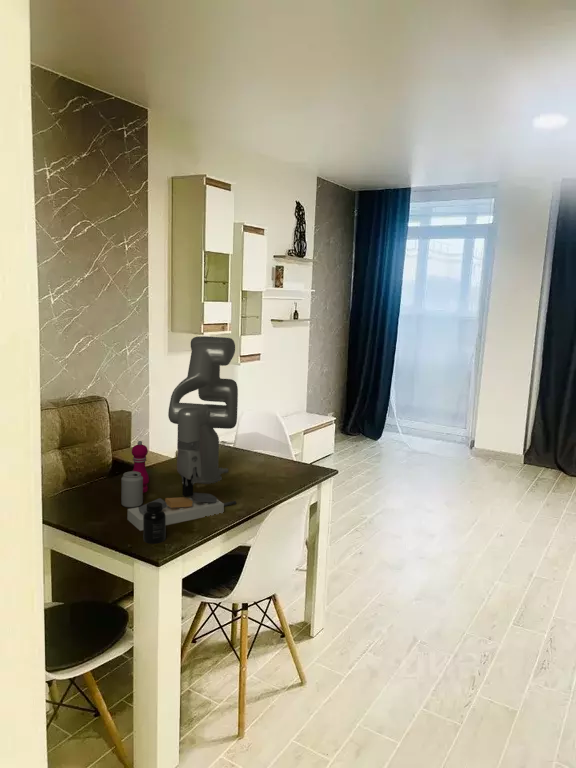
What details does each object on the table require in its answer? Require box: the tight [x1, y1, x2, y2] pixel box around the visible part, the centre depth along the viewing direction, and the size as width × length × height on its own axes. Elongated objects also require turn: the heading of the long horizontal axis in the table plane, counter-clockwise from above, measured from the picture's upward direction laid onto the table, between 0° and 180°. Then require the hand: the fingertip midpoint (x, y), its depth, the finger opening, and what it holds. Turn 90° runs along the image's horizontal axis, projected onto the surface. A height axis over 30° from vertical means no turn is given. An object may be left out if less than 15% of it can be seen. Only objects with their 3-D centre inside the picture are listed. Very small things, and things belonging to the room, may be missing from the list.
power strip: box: [126, 497, 237, 532], centre depth 210 cm, size 39×11×5 cm, turn 126°
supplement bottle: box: [142, 501, 167, 545], centre depth 187 cm, size 7×7×12 cm
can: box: [120, 470, 144, 509], centre depth 216 cm, size 8×8×12 cm
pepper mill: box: [131, 440, 150, 494], centre depth 230 cm, size 7×7×20 cm
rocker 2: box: [164, 496, 193, 508], centre depth 206 cm, size 8×5×2 cm, turn 126°
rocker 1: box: [138, 497, 167, 515], centre depth 200 cm, size 8×5×2 cm, turn 126°
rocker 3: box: [189, 492, 218, 503], centre depth 211 cm, size 8×5×2 cm, turn 126°
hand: (187, 495), depth 208 cm, fingers closed
